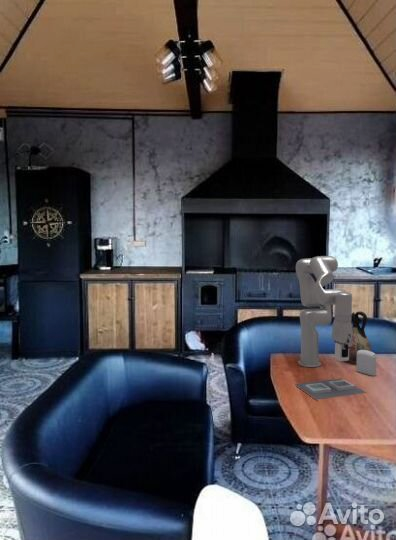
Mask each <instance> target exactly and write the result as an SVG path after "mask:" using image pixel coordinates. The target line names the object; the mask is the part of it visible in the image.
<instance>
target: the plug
mask: <svg viewBox="0 0 396 540" xmlns="http://www.w3.org/2000/svg"><path fill="white" fill-rule="evenodd" d="M334 343H335V342H334ZM346 345H347V344H345V346H346ZM342 349H343V344H342V343H340V342H337V343H335V344H334V359H335V360H336V361H339V362H348V360H349V349H348V357H342Z"/></svg>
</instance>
